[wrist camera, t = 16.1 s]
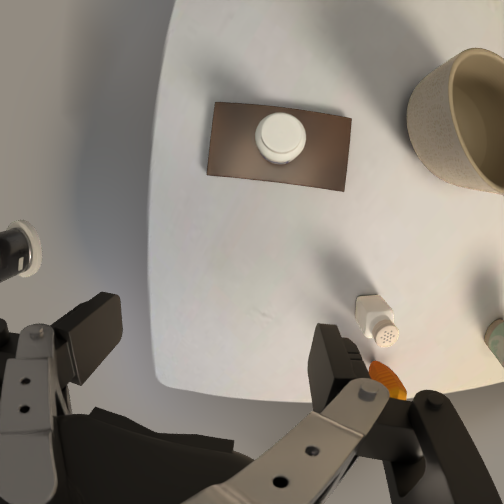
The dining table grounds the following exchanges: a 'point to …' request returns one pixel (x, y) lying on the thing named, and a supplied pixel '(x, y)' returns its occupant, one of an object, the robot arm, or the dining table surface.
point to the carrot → (387, 380)
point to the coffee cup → (496, 339)
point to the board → (295, 172)
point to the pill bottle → (280, 138)
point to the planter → (462, 121)
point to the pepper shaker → (376, 320)
